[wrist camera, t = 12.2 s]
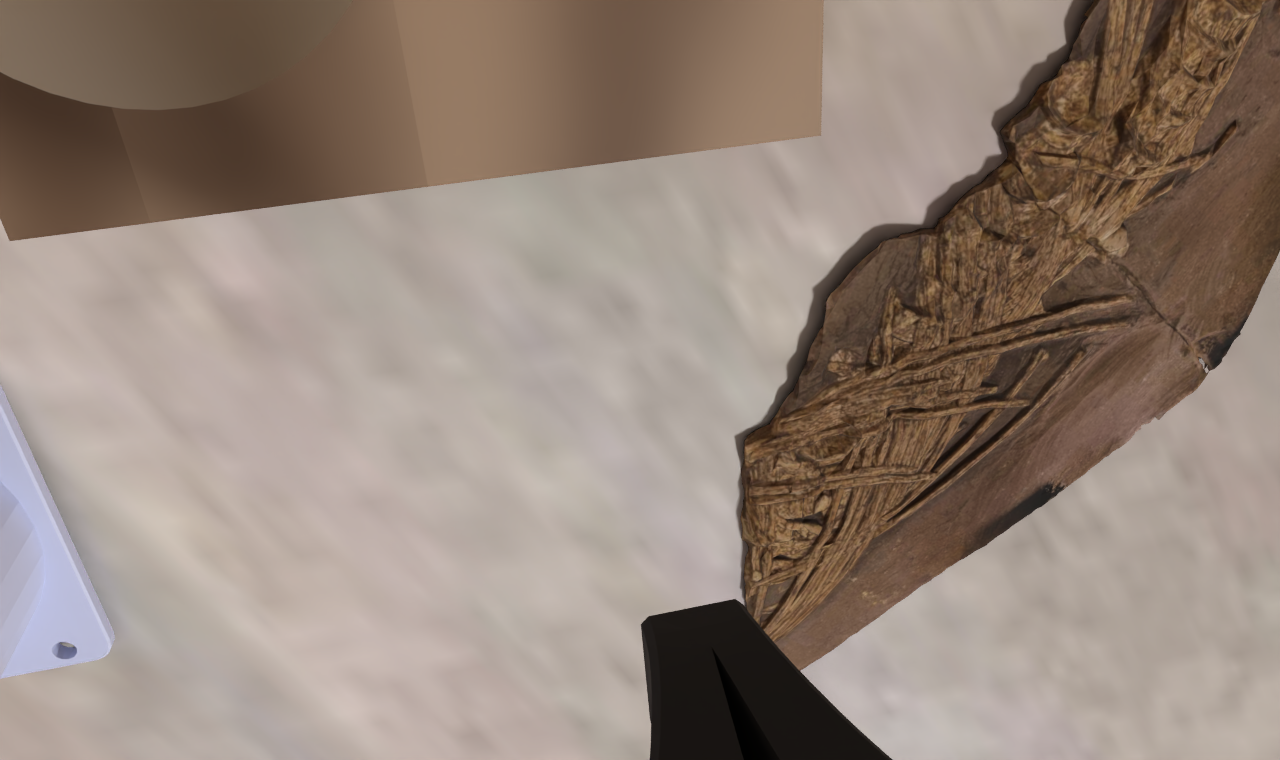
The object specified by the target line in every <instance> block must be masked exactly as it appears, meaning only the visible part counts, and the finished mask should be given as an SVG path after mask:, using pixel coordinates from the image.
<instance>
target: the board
mask: <svg viewBox="0 0 1280 760" xmlns="http://www.w3.org/2000/svg"><path fill="white" fill-rule="evenodd" d="M823 1H824V0H352V2H351V4H350V6H349V7H348V9H347V10H346V11H345V13H344V14H343V16H342V17H341V18H340V20H339V21H338V22H337V24H336V25H335V27H334V28H333V29H332V31H331V32H330V33H329V34H328V35H327V36H326V37H325V38H324V39H323V40H322V41H321V42H320V43H319V44H318V45H317V46H316V47H315V48H314V49H313V50H312V51H311V52H310V53H309V54H308V55H307V56H306V57H304V58H303V59H302V60H300V61H299V62H298V63H296V64H295V65H294V66H292V67H291V68H290V69H288V70H287V71H286V72H284V73H283V74H281V75H279V76H278V77H276V78H274V79H272V80H270V81H268V82H267V83H265V84H263V85H261V86H259V87H257V88H256V89H253V90H250V91H248V92H245V93H242V94H240V95H237V96H234V97H232V98H229V99H226V100H222V101H218V102H213V103H209V104H205V105H200V106H196V107H188V108H177V109H166V110H141V109H121V108H115V107H108V106H102V105H95V104H89V103H85V102H81V101H77V100H74V99H70V98H66V97H63V96H59V95H55V94H51V93H49V92H46V91H43V90H41V89H38V88H36V87H33V86H31V85H28V84H26V83H23V82H20V81H18V80H15V79H13V78H11V77H9V76H7V75H5V74H3V73H1V72H0V219H1V221H2V224H3V226H4V228H5V231H6V233H7V236H8V238H9V240H10V241H14V240H21V239H29V238H37V237H44V236H52V235H60V234H68V233H75V232H83V231H91V230H98V229H106V228H114V227H121V226H129V225H137V224H144V223H152V222H160V221H167V220H175V219H183V218H190V217H198V216H206V215H213V214H221V213H229V212H236V211H244V210H252V209H259V208H267V207H275V206H283V205H290V204H298V203H306V202H313V201H321V200H329V199H336V198H344V197H352V196H359V195H367V194H375V193H382V192H390V191H398V190H405V189H413V188H421V187H428V186H436V185H444V184H451V183H459V182H467V181H474V180H482V179H490V178H498V177H505V176H513V175H521V174H528V173H536V172H544V171H551V170H559V169H567V168H574V167H582V166H590V165H597V164H605V163H613V162H620V161H628V160H636V159H643V158H651V157H659V156H666V155H674V154H682V153H689V152H697V151H705V150H713V149H720V148H728V147H736V146H743V145H751V144H759V143H766V142H774V141H782V140H789V139H797V138H805V137H812V136H820V135H821V107H822V54H823Z"/></svg>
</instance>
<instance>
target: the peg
mask: <svg viewBox="0 0 1280 760" xmlns="http://www.w3.org/2000/svg"><path fill="white" fill-rule="evenodd" d="M351 2H352V0H0V72H1V73H3V74H5V75H7V76H9V77H11V78H13V79H15V80H18V81H20V82H23V83H26V84H28V85H31V86H33V87H36V88H38V89H41V90H43V91H46V92H49V93H51V94H55V95H59V96H63V97H66V98H70V99H74V100H77V101H81V102H85V103H89V104H95V105H102V106H108V107H115V108H121V109H141V110H166V109H177V108H188V107H196V106H200V105H205V104H209V103H213V102H218V101H222V100H226V99H229V98H232V97H234V96H237V95H240V94H242V93H245V92H248V91H250V90H253V89H256V88H257V87H259V86H261V85H263V84H265V83H267V82H268V81H270V80H272V79H274V78H276V77H278V76H279V75H281V74H283V73H284V72H286V71H287V70H288V69H290V68H291V67H292V66H294V65H295V64H296V63H298V62H299V61H300V60H302V59H303V58H304V57H306V56H307V55H308V54H309V53H310V52H311V51H312V50H313V49H314V48H315V47H316V46H317V45H318V44H319V43H320V42H321V41H322V40H323V39H324V38H325V37H326V36H327V35H328V34H329V33H330V32H331V31H332V29H333V28H334V27H335V25H336V24H337V22H338V21H339V20H340V18H341V17H342V16H343V14H344V13H345V11H346V10H347V9H348V7H349V6H350V4H351Z"/></svg>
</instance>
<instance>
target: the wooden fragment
mask: <svg viewBox="0 0 1280 760" xmlns="http://www.w3.org/2000/svg"><path fill="white" fill-rule="evenodd" d="M1084 15H1085V16H1087V17H1088V18H1087V19H1086V20H1085V21H1084V22H1083V23H1082V25H1081V28H1080V32H1079V35H1078V38H1077V40H1076V41H1075V43H1074V44H1073V49H1072V51H1071V54H1070V57H1069V59H1068V60H1067V61H1066V62H1065V63H1064V64H1063V65H1062V66H1061V68H1060V70H1059V72H1058V74H1057V76H1055V77H1053V78H1051V79H1049V80H1048V81H1046V82H1044V83H1042V84H1040V86H1039V88H1038V90H1037V92H1036V94H1035V95H1034V97H1033V98H1032V100H1031V101H1030V103H1029V104H1028V105H1027V106H1026V107H1025V109H1023V110H1021V111H1020V112H1019V113H1018V114H1017V115H1016V116H1015V117H1014V118H1013V119H1011V120H1010V121H1009V122H1008V123H1007V124H1006V125H1005V126H1004V128H1003V129H1002V130H1001V131H1000V133H1001V136H1002V138H1003V141H1004V144H1005V146H1006V149H1007V152H1008V158H1007V159H1006V160H1005V161H1004V163H1003V164H1002V165H1001V166H1000V167H998V168H997V169H996V170H994V171H993V172H991V173H990V174H989V175H988V176H987V177H986V178H985V180H984V181H983V182H982V183H981V184H980V185H976V186H975V187H973V188H972V189H971V190H970V191H968V192H967V193H966V194H965V195H964V196H963V197H962V198H961V199H960V200H959V201H958V202H957V203H956V204H955V206H954V207H953V208H952V210H951V211H950V212H949V213H948V214H947V215H946V216H945V217H943V218H940V219H939V221H938V225H937V226H936V227H935V228H931V229H918V230H916V231H914V232H910V233H905V234H901V235H900V236H899V237H898V238H892V239H889V240H886V241H883V242H881V244H880V245H879V247H877V248H876V249H875V250H873V251H872V252H871V253H869V254H868V255H867V256H866V257H865V258H864V259H863V260H862V261H861V262H860V263H859V264H858V265H856V266H855V268H854V269H853V270H852V271H851V272H850V273H849V274H848V275H847V277H846V278H845V279H844V281H843V282H842V283H841V284H840V286H839V287H838V288H837V289H835V290H834V291H833V292H832V293H831V294H830V296H829V297H828V299H827V301H826V304H825V307H826V314H825V319H824V324H823V327H822V328H821V329H820V330H819V332H818V334H817V336H816V338H815V340H814V342H813V343H812V345H811V347H810V350H809V354H808V358H807V362H806V364H805V366H804V368H803V370H802V372H801V374H800V376H799V379H798V381H797V383H796V385H795V388H794V391H793V392H792V393H790V394H789V395H788V396H787V398H786V399H785V401H784V402H783V404H782V405H781V407H780V408H779V410H778V413H777V414H776V415H775V417H774V418H773V419H772V420H771V422H770V424H769V425H767V426H764V427H762V428H760V429H757V430H756V431H754V432H753V433H751V434H750V435H748V436H747V437H746V439H745V441H744V452H743V453H744V461H743V466H742V468H741V477H742V484H743V488H744V500H743V509H742V513H741V523H742V540H744V541H745V542H746V543H747V544H748V548H749V549H748V552H747V555H746V557H745V566H744V580H745V583H746V585H745V590H746V599H745V601H746V603H747V611H748V612H749V613H750V614H751V616H752V617H753V618H754V619H755V620H756V622H757V623H758V624H759V625H760V627H761V628H762V629H763V630H764V631H765V633H766V634H767V635H768V636H769V637H770V638H771V640H772V641H773V642H774V643H775V644H776V645H777V646H778V648H779V649H780V650H781V651H782V652H783V653H784V654H785V655H786V656H787V658H788V659H789V660H790V661H791V662H792V663H793V664H794V665H795V666H796V667H797V669H798V670H799V671H800V670H802V669H804V668H805V667H807V666H808V665H809V664H811V663H813V662H814V661H816V660H818V659H819V658H821V657H822V656H824V655H825V654H827V653H828V652H830V651H832V650H833V649H834V648H836V647H837V646H839V645H840V644H841V643H843V642H844V641H845V640H846V639H847V638H848V637H850V636H851V635H853V634H855V633H857V632H858V631H860V630H861V629H862V628H864V627H865V626H867V625H868V624H869V623H871V622H872V621H874V620H875V619H877V618H878V617H880V616H881V615H882V614H883V613H885V612H886V611H887V610H888V609H890V608H891V607H892V606H894V605H895V604H897V603H898V602H900V601H901V600H903V599H904V598H906V597H907V596H909V595H910V594H911V593H912V592H914V591H915V590H916V589H917V588H919V587H920V586H921V585H923V584H925V583H927V582H929V581H930V580H931V579H932V578H934V577H935V576H937V575H939V574H940V573H942V572H943V571H944V570H945V569H946V568H948V567H950V566H952V565H953V564H955V563H956V562H958V561H959V560H961V559H964V558H965V557H967V556H968V555H970V554H971V553H973V552H974V551H976V550H978V549H980V548H982V547H984V546H986V545H987V544H988V543H989V542H990V541H992V540H993V539H994V538H996V537H997V536H998V535H1000V534H1002V533H1003V532H1005V531H1006V530H1007V529H1009V528H1010V527H1011V526H1012V525H1014V524H1015V523H1017V522H1018V521H1020V520H1021V519H1023V518H1024V517H1026V516H1027V515H1029V514H1031V513H1032V512H1033V511H1034V510H1035V509H1037V508H1039V507H1042V506H1043V505H1044V504H1045V503H1047V502H1048V501H1049V500H1051V499H1052V498H1054V497H1055V496H1056V495H1057V494H1058V493H1059V492H1061V491H1062V490H1064V489H1065V488H1066V487H1068V486H1069V485H1070V484H1071V483H1073V482H1074V481H1075V480H1077V479H1078V478H1080V477H1081V476H1082V475H1084V474H1085V473H1086V472H1087V471H1088V470H1089V469H1091V468H1092V467H1093V466H1095V465H1096V464H1097V463H1099V462H1100V461H1101V460H1102V459H1103V458H1104V457H1107V456H1109V455H1110V454H1111V453H1112V452H1113V451H1114V450H1116V449H1118V448H1120V447H1121V446H1123V445H1124V444H1125V443H1126V442H1127V441H1129V440H1130V439H1131V438H1132V436H1133V435H1134V433H1135V432H1136V431H1138V430H1140V429H1141V425H1144V424H1147V423H1150V422H1151V421H1152V419H1153V418H1154V417H1156V418H1157V419H1158V420H1159V419H1160V418H1161V417H1162V416H1163V415H1164V414H1165V413H1166V412H1167V411H1168V410H1170V409H1171V408H1172V407H1173V406H1175V405H1176V404H1177V403H1179V402H1180V401H1181V400H1182V399H1184V398H1185V397H1186V396H1188V395H1190V394H1191V393H1193V392H1194V391H1195V390H1196V389H1197V388H1198V387H1199V386H1200V384H1201V383H1202V381H1203V380H1204V379H1205V377H1206V376H1207V374H1208V373H1207V374H1206V372H1205V370H1204V369H1205V368H1206V367H1207V365H1208V367H1207V368H1208V370H1209V371H1210V370H1212V369H1215V368H1216V367H1217V366H1218V365H1219V364H1220V363H1221V362H1222V358H1223V357H1224V356H1225V355H1226V354H1227V352H1228V350H1229V348H1230V346H1231V344H1232V343H1233V341H1234V340H1235V339H1236V338H1237V337H1238V336H1239V335H1240V331H1241V329H1242V328H1243V326H1244V324H1245V322H1246V320H1247V319H1248V317H1249V315H1250V313H1251V311H1252V308H1253V306H1254V304H1255V302H1256V300H1257V298H1258V295H1259V293H1260V291H1261V288H1262V286H1263V284H1264V282H1265V280H1266V278H1267V276H1268V274H1269V272H1270V270H1271V268H1272V266H1273V264H1274V262H1275V260H1276V258H1277V256H1278V253H1279V251H1280V0H1094V2H1093V3H1092V5H1091V7H1090V8H1089V9H1088V10H1087V12H1086V13H1085V14H1084ZM1198 357H1201V358H1202V359H1203V361H1204V363H1205V367H1204V369H1203V365H1202V364H1201V363H1200V362H1199V359H1198ZM1209 371H1208V372H1209Z"/></svg>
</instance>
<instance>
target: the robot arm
mask: <svg viewBox="0 0 1280 760" xmlns="http://www.w3.org/2000/svg"><path fill="white" fill-rule="evenodd" d="M641 630H642V640H643V650H644V661H645V671H646V681H647V692H648V702H649V712H650V720H651V751H650V760H892V759H891V758H890V757H889V756H887V755H886V754H885V753H884V752H883V751H882V750H881V749H880V748H879V747H877V746H876V745H875V744H874V743H873V742H872V741H871V740H870V739H868V738H867V737H866V736H865V735H864V734H863V733H862V732H861V731H860V730H859V729H857V728H856V727H855V726H854V725H853V724H852V723H851V722H850V721H849V720H848V719H847V718H846V717H845V716H844V715H843V714H842V713H841V712H840V711H839V710H838V709H837V708H836V707H835V706H834V705H833V704H832V703H831V702H830V701H829V700H828V699H827V698H826V697H825V696H824V695H823V694H822V693H821V692H820V691H819V690H818V689H817V688H816V687H815V686H814V685H813V684H812V683H811V682H810V681H809V680H808V679H807V678H806V677H805V676H804V675H803V674H802V673H801V672H800V671H799V670H798V669H797V667H796V666H795V665H794V664H793V663H792V662H791V661H790V660H789V659H788V658H787V656H786V655H785V654H784V653H783V652H782V651H781V650H780V649H779V648H778V646H777V645H776V644H775V643H774V642H773V641H772V640H771V638H770V637H769V636H768V635H767V634H766V633H765V631H764V630H763V629H762V628H761V627H760V625H759V624H758V623H757V622H756V620H755V619H754V618H753V617H752V616H751V614H750V613H749V612H748V611H747V609H746V608H745V607H744V605H743V604H741V603H740V602H739V601H737V600H736V599H733V600H728V601H723V602H718V603H713V604H708V605H703V606H698V607H693V608H688V609H683V610H678V611H673V612H668V613H663V614H658V615H653V616H649V617H648V618H647V619H646V620H645V621H644V622H643V623H642V624H641ZM114 639H115V636H114V631H113V629H112V627H111V625H110V623H109V620H108V618H107V616H106V614H105V612H104V609H103V607H102V605H101V603H100V601H99V599H98V596H97V594H96V592H95V590H94V588H93V585H92V583H91V581H90V579H89V577H88V575H87V572H86V570H85V568H84V566H83V564H82V561H81V559H80V557H79V555H78V553H77V551H76V548H75V546H74V544H73V542H72V540H71V537H70V535H69V533H68V531H67V529H66V527H65V524H64V522H63V520H62V518H61V516H60V513H59V511H58V509H57V507H56V505H55V502H54V500H53V498H52V496H51V494H50V492H49V489H48V487H47V485H46V483H45V481H44V478H43V476H42V474H41V472H40V470H39V468H38V465H37V463H36V461H35V459H34V457H33V454H32V452H31V450H30V448H29V446H28V444H27V441H26V439H25V437H24V435H23V433H22V430H21V428H20V426H19V424H18V422H17V420H16V417H15V415H14V413H13V411H12V409H11V406H10V404H9V402H8V400H7V398H6V395H5V393H4V391H3V389H2V387H1V385H0V679H1V678H6V677H11V676H16V675H22V674H27V673H32V672H37V671H43V670H48V669H53V668H58V667H64V666H69V665H74V664H79V663H85V662H90V661H95V660H98V659H101V658H103V657H105V656H106V655H107V654H108V653H109V651H110V649H111V647H112V644H113V641H114ZM59 642H68V643H71V644H73V645H74V646H75V647H66V646H63V645H61V644H60V643H59Z"/></svg>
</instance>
